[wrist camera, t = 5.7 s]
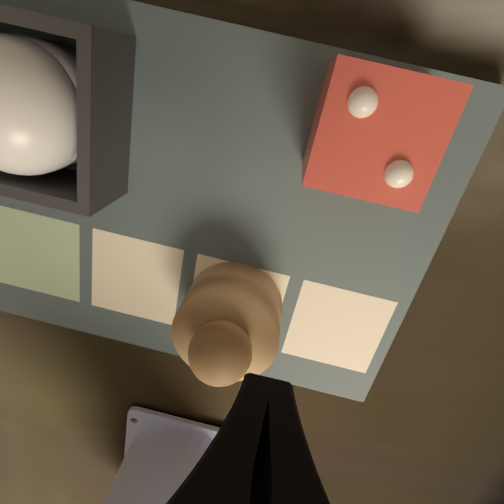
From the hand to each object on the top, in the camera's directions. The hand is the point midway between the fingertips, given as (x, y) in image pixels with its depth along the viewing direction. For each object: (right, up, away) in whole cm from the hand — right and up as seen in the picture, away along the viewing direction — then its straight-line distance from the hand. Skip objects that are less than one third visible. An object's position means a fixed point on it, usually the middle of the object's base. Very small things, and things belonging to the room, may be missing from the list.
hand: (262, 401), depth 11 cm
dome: (-9, +11, +5) cm, 15 cm away
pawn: (-1, +2, +9) cm, 9 cm away
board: (-5, +7, +8) cm, 11 cm away
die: (+4, +10, +4) cm, 11 cm away
